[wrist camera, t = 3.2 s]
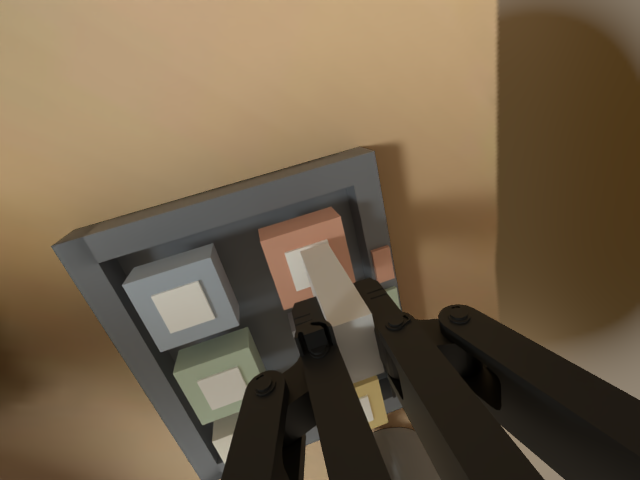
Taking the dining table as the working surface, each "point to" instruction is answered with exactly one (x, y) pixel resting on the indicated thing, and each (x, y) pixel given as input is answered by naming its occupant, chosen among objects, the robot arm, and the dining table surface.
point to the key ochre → (371, 401)
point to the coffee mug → (404, 455)
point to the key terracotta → (297, 236)
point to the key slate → (183, 297)
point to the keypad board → (228, 272)
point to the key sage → (218, 373)
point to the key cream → (224, 434)
